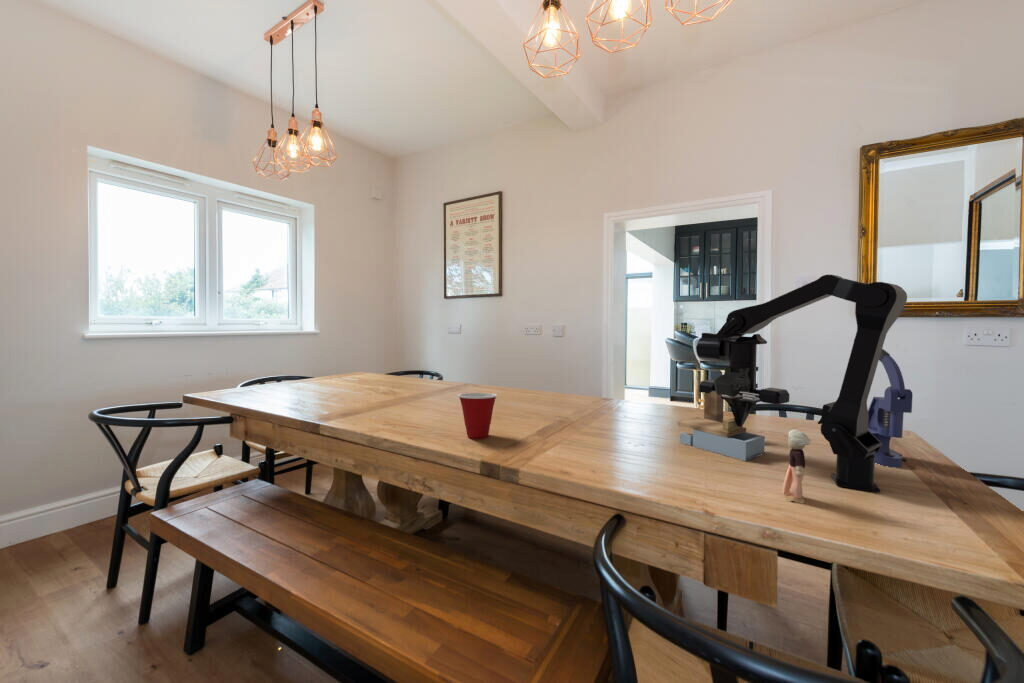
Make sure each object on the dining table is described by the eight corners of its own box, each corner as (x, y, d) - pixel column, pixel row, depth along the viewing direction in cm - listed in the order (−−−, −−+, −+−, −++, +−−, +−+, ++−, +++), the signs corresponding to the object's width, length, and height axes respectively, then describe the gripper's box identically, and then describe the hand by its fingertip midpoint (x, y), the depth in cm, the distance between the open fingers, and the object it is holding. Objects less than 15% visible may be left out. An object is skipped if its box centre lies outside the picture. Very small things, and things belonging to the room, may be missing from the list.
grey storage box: (764, 454, 97) (764, 436, 97) (745, 461, 92) (745, 442, 92) (698, 437, 111) (699, 421, 111) (679, 442, 106) (679, 426, 106)
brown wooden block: (722, 436, 112) (724, 388, 111) (715, 438, 110) (717, 389, 109) (710, 433, 115) (711, 386, 114) (703, 435, 113) (704, 387, 112)
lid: (746, 431, 101) (746, 417, 100) (727, 437, 96) (727, 422, 95) (697, 420, 111) (697, 408, 111) (677, 425, 106) (678, 412, 106)
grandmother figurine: (776, 489, 77) (779, 423, 76) (800, 492, 75) (803, 425, 75) (787, 506, 70) (790, 434, 69) (814, 510, 68) (817, 437, 68)
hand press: (923, 472, 86) (930, 341, 85) (873, 468, 88) (880, 340, 87) (871, 445, 104) (876, 338, 103) (831, 443, 106) (836, 337, 105)
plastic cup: (497, 430, 117) (497, 389, 116) (496, 441, 106) (496, 396, 106) (460, 430, 117) (460, 389, 116) (455, 442, 106) (455, 397, 106)
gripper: (686, 360, 100) (685, 422, 101) (768, 368, 84) (765, 441, 85) (711, 358, 106) (709, 416, 107) (791, 365, 91) (788, 433, 91)
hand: (739, 426), depth 97 cm, fingers closed
